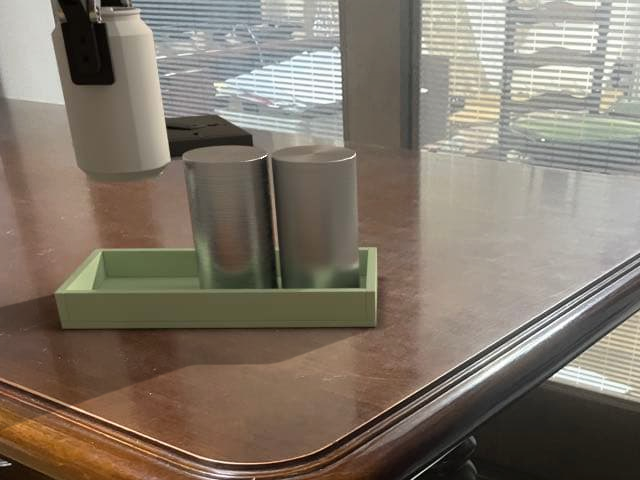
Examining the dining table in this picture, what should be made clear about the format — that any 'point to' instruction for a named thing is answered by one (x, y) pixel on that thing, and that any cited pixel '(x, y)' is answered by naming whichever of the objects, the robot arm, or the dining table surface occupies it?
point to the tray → (201, 296)
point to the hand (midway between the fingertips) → (108, 75)
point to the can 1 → (118, 105)
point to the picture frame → (203, 133)
